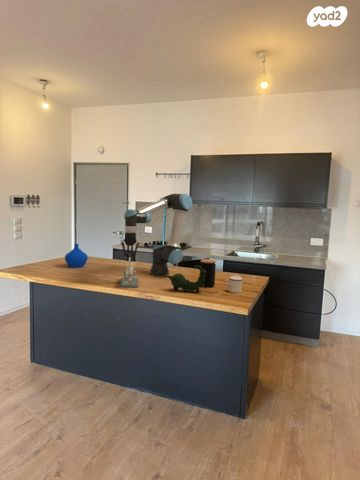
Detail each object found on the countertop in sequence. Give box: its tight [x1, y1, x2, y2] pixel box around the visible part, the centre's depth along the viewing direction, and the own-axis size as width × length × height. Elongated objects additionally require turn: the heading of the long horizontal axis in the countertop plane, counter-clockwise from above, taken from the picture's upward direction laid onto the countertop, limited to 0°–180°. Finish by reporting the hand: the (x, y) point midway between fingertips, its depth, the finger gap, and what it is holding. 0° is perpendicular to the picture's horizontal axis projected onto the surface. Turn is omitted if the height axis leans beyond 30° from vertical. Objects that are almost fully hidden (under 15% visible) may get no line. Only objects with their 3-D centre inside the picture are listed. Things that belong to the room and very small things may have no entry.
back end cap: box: [123, 269, 137, 279], centre depth 238 cm, size 8×3×6 cm, turn 97°
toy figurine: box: [166, 265, 206, 293], centre depth 215 cm, size 9×19×25 cm
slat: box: [126, 266, 134, 283], centre depth 229 cm, size 4×22×6 cm, turn 7°
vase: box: [64, 243, 89, 268], centre depth 279 cm, size 18×18×19 cm
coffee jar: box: [199, 258, 217, 288], centre depth 231 cm, size 11×11×18 cm
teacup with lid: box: [223, 273, 244, 294], centre depth 221 cm, size 12×9×12 cm
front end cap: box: [122, 275, 137, 285], centre depth 220 cm, size 8×3×6 cm, turn 97°
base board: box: [119, 277, 139, 289], centre depth 229 cm, size 12×22×2 cm, turn 7°
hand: (129, 266), depth 228 cm, fingers closed
